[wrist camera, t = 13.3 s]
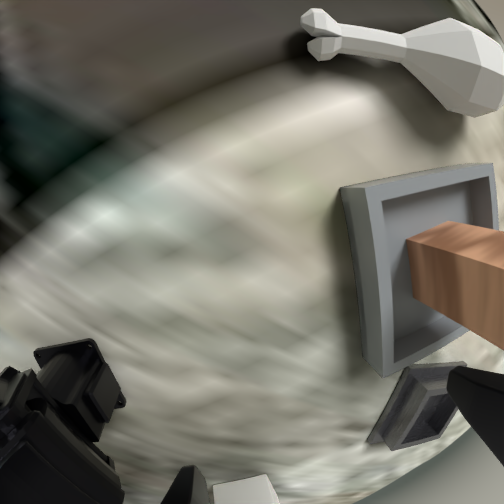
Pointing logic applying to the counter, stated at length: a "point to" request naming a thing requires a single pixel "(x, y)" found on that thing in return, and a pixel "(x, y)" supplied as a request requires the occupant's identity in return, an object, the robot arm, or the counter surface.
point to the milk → (246, 491)
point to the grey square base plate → (417, 407)
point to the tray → (396, 255)
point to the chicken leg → (423, 57)
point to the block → (461, 276)
